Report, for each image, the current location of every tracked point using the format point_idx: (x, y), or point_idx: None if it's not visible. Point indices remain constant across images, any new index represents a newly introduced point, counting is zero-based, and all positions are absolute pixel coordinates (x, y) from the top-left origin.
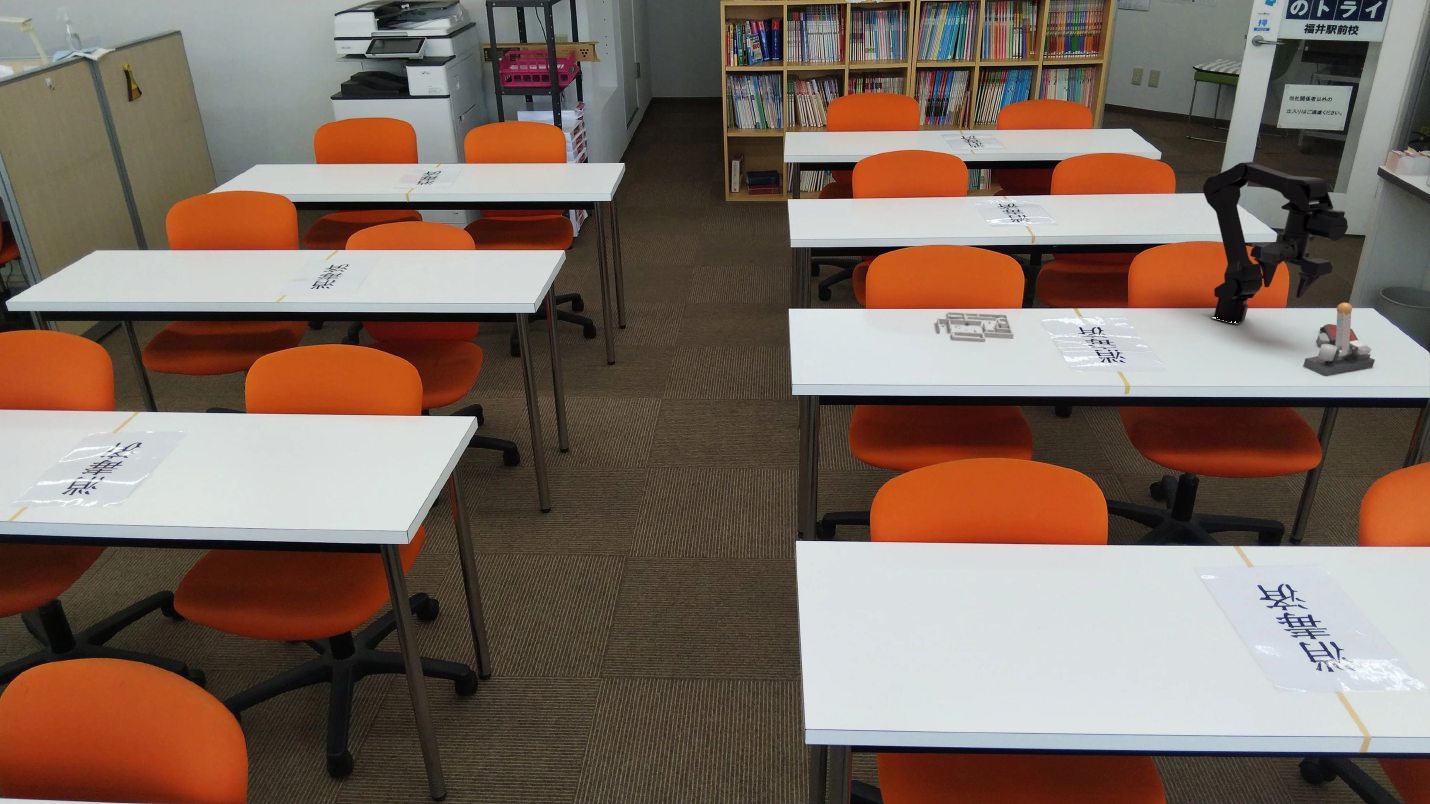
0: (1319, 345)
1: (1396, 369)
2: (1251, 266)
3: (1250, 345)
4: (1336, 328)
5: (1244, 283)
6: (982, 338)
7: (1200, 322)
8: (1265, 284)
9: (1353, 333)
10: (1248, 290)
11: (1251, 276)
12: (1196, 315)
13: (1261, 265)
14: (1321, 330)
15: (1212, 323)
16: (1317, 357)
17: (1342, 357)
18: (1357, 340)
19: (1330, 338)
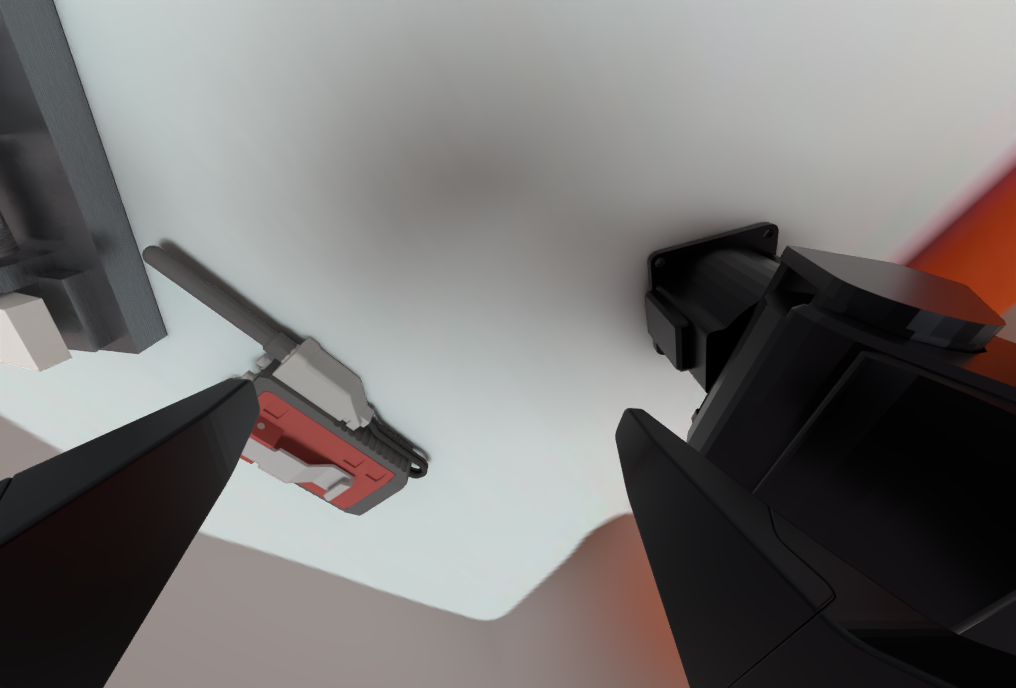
0: (304, 341)
1: (32, 379)
2: (967, 581)
3: (435, 25)
4: None
5: (831, 351)
6: None
7: (802, 118)
8: (646, 423)
9: (303, 486)
10: (739, 364)
11: (838, 467)
12: (846, 203)
13: (952, 643)
14: (403, 450)
15: (744, 170)
16: (12, 80)
17: (28, 229)
18: (35, 368)
19: (279, 388)
